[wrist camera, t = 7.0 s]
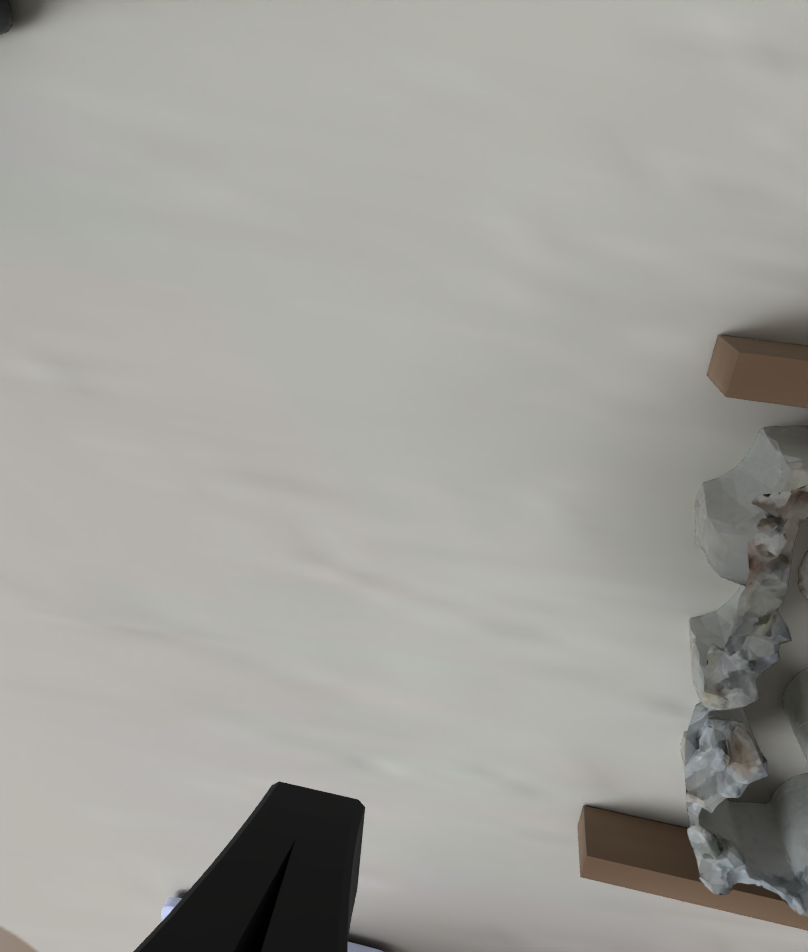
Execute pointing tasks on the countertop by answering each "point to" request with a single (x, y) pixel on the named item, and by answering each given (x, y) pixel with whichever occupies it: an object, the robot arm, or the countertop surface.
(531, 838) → the countertop surface
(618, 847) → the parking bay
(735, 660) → the egg carton
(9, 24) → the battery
